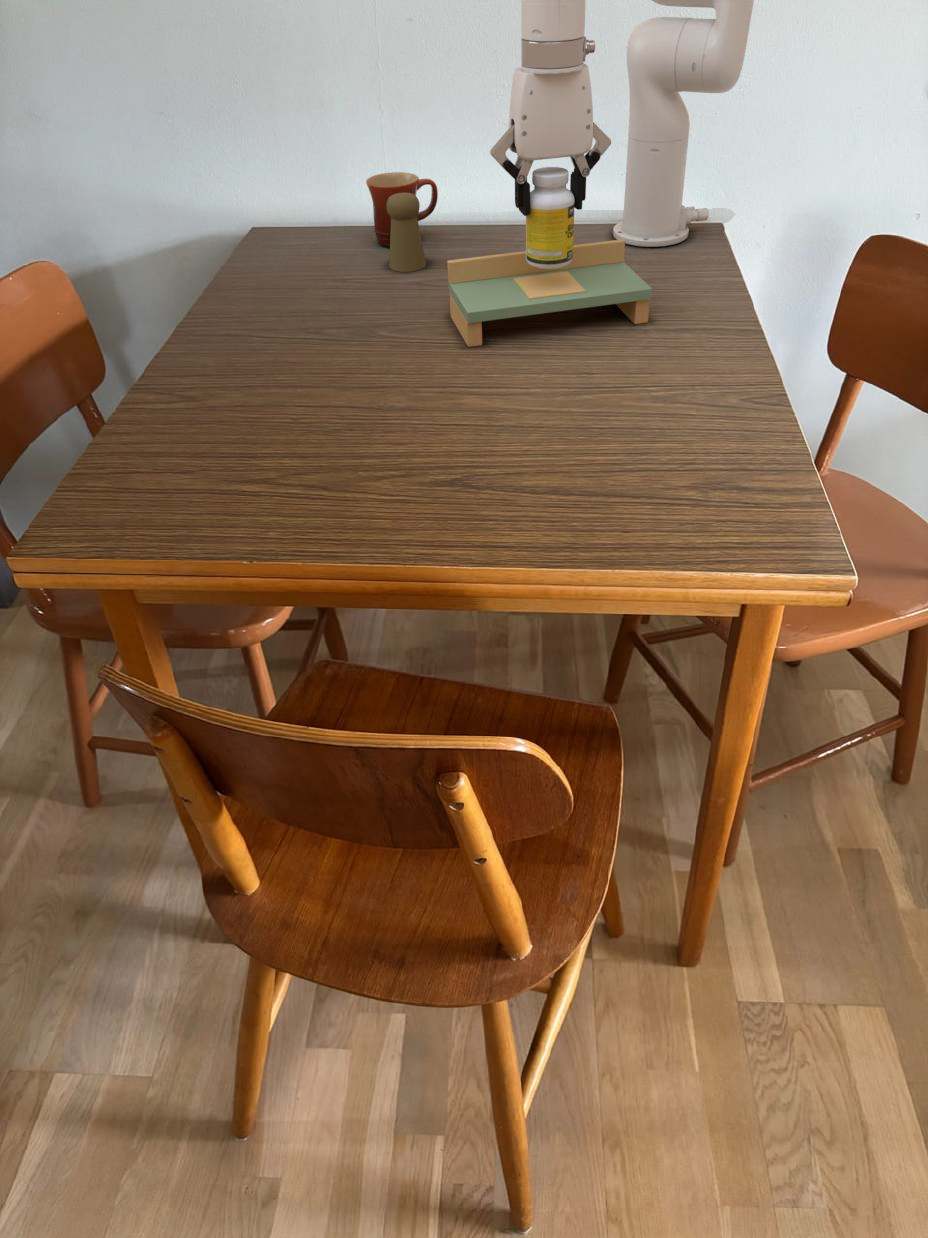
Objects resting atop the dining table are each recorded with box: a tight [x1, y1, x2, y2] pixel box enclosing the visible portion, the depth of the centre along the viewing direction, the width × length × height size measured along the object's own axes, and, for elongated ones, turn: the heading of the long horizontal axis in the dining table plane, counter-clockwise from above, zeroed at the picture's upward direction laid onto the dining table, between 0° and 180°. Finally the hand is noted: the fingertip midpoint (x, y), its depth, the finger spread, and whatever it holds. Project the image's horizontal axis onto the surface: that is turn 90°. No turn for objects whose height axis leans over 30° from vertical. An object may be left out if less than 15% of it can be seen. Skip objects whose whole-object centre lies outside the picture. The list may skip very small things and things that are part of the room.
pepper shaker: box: [386, 193, 427, 273], centre depth 153 cm, size 6×6×11 cm
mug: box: [365, 171, 439, 249], centre depth 162 cm, size 12×9×10 cm
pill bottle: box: [525, 166, 575, 269], centre depth 127 cm, size 6×6×12 cm
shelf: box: [446, 239, 653, 348], centre depth 134 cm, size 26×12×8 cm, turn 103°
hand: (550, 208), depth 126 cm, fingers closed on pill bottle, 6 cm apart
